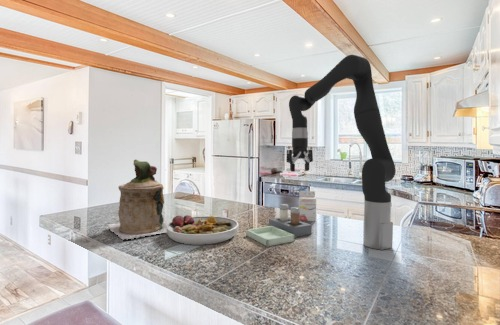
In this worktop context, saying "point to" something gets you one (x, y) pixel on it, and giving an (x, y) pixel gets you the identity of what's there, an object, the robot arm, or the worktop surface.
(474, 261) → the worktop surface
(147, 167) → the cookie jar
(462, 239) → the worktop surface
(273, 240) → the parts tray
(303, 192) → the ink cartridge box
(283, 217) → the fuse
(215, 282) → the worktop surface
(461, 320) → the worktop surface
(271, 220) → the block
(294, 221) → the cylinder
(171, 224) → the bowl
